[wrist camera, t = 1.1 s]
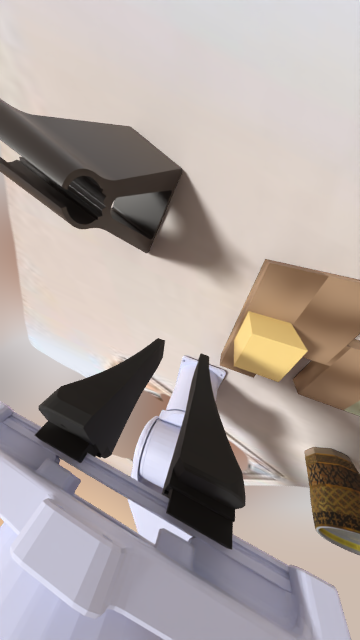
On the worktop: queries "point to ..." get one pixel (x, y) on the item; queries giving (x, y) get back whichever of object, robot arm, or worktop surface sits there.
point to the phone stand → (91, 173)
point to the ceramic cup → (334, 497)
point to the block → (267, 346)
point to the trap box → (311, 328)
